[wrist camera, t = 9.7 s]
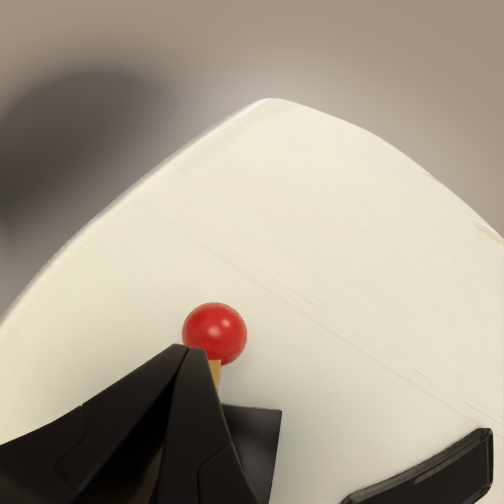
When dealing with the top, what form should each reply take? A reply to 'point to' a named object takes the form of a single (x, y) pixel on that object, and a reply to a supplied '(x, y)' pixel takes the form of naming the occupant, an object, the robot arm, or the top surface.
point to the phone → (440, 477)
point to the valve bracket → (252, 445)
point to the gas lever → (216, 334)
